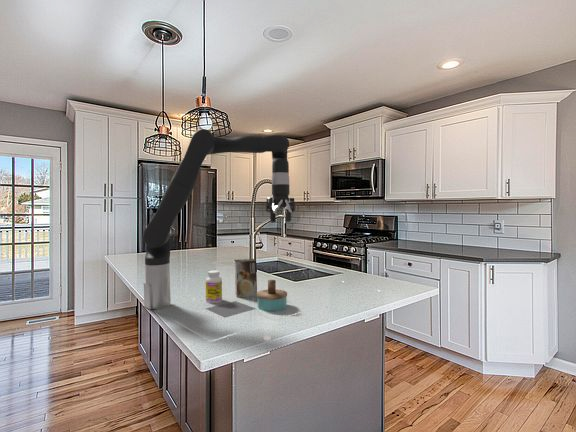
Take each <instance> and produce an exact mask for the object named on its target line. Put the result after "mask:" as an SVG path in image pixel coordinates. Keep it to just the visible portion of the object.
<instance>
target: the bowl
mask: <svg viewBox="0 0 576 432" xmlns="http://www.w3.org/2000/svg"><path fill="white" fill-rule="evenodd" d="M287 296H288V295H287ZM287 296H286V297H285V298H281V299H275V300H266V299H260V298H258V297H257V308H258V310H260V311H263V312H279V311H283V310H285V309H287V305H288V304H287V303H288V302H287Z"/></svg>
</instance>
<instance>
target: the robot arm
mask: <svg viewBox="0 0 576 432" xmlns="http://www.w3.org/2000/svg"><path fill="white" fill-rule="evenodd" d="M289 147H290V141H289V139H288V138H287V136H285V135H282V134H272V135H264V136H263V135H240V136H234V137H219V136H214V135H213V133H212V132H211V131H210V130H208V129H205V128H202V129H201V128H200V129H198V130H196V131H195V132H194V133H193V134H192V136H191V139H190V141H189V144H188V146H187V149H186V151H185V154H184V156H183V158H182V160H181V162H180V164H179V165H178V166H177V168H176V170H175V172H174V174H173V175H172V177H171V180H170V181H169V183H168V185H167V186H166V190H165V192H164V194H163V196H162V199H161V201H160V203H159V206H158V208H157V210H156V212H155V213H154V216H153V217H152V219H151V220H150V221H149V223H148V224H147V226H146V227H145V229H144V230H143V233H142V239H143V242H144V244H145V246H146V247H145V248H146V251H145V257H144V258H145V259H144V270H145V271H144V272H145V273H144V275H145V278H144V279H145V281H144V283H143V307H145V308H146V309H148V310H156V309H162V308H166V307H169V306H171V304H172V303H171V302H172V301H171V300H172V299H171V270H170V269H171V267H170V266H171V265H170V264H171V262H170V259H171V258H170V257H171V233H170V230H171V229H172V227H173V224H174V221H175V220H176V218H177V216H178V215H179V213H180V212H181V211H182V209H183V208H184V206H185V205H186V204H187V202H188V200H189V198H190V196H191V195H192V192H193V191H194V189H195V186H196V183H197V181H198V178H199V177H198V176H199V173H200V170H201V167H202V164H203V162H204V161H205V159H206V158H207V156H208V155H214V154H217V155H218V154H224V153H244V154H245V153H248V154H251V153H252V154H264V153H266V152H267V153H268V152H269V153H271V159H272V166H271V167H272V168H271V169H272V170H271V171H272V172H271V173H272V174H271V195H272V197H266V204H265V206H266V207H265V210H266V212H267V213H269V215H270V216H269V218H270V222H271V223H276V220H277V219H276V217H277V216H276V214H277V213H276V212H277V211H278V210H279V208H280V209H283V210H284V211H285V212H286V213H285V222H288V223H290V222H291V220H292V213H293V212H295V210H296V208H295V207H296V206H295V198H294V197H289V195H290V192H291V191H290V171H289V170H290V169H289V168H290V167H289V161H288V149H289Z"/></svg>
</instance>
